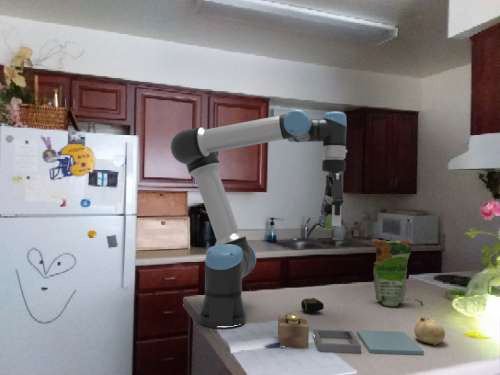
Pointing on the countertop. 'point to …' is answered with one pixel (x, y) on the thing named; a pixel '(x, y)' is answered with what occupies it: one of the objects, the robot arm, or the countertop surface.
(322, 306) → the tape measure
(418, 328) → the onion
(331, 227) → the beverage can
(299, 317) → the plunger
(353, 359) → the countertop surface
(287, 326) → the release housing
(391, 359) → the countertop surface
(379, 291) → the pouch
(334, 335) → the socket collar
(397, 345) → the light blue square tile
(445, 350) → the countertop surface
